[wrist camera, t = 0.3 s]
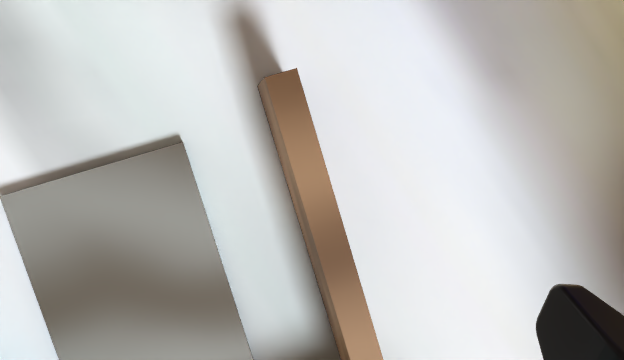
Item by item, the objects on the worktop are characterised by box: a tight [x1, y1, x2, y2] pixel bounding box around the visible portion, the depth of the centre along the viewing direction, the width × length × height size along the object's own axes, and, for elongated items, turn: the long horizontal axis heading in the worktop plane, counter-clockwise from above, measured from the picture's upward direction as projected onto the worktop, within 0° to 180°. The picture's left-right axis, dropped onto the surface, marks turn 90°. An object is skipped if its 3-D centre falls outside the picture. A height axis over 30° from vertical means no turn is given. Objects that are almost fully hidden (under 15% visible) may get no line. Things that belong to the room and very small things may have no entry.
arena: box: [0, 68, 383, 360], centre depth 22 cm, size 15×12×3 cm
